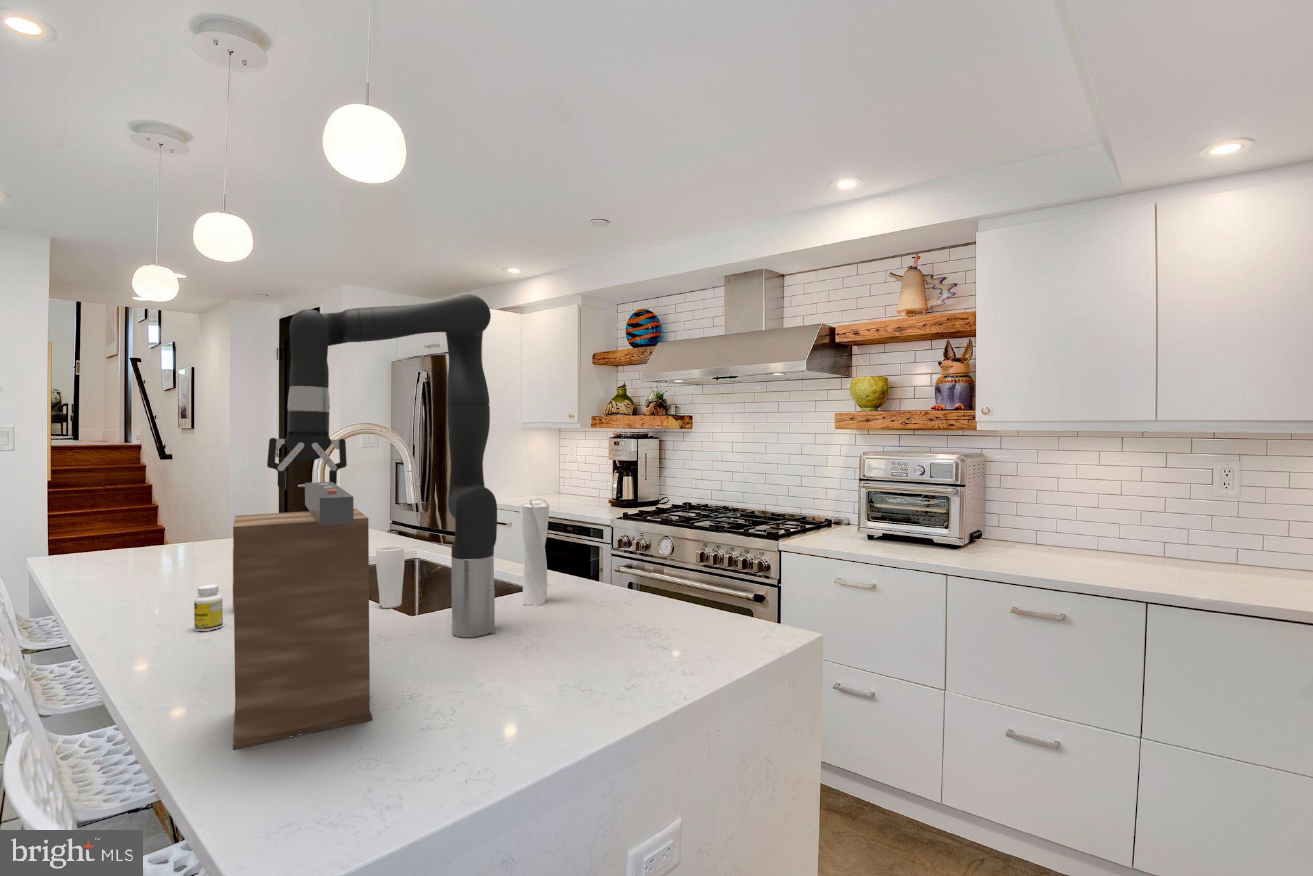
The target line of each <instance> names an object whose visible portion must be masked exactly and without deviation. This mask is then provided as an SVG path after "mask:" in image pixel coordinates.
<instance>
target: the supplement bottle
mask: <svg viewBox="0 0 1313 876" xmlns="http://www.w3.org/2000/svg"><path fill="white" fill-rule="evenodd" d="M219 588H220V587H219V584H213V583H212V584H204V585H203V584H202V585H200V586H198V587H197V595H198V596H196V597H195V598H194V601H193V607H194V611H193V613H194V614H193V615H194V630H195V631H196V632H198V631H208V632H211V631H210V630H213V629H217V630H219V629H218V628H220V627H221V628H223V625H224V617H223V615H224V614H223V613H224V612H223V610H224V608H223V604H224V603H223V595H222V594H221V593H219V590H220V589H219ZM221 628H220V629H221Z"/></svg>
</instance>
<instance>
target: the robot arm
mask: <svg viewBox="0 0 1313 876" xmlns="http://www.w3.org/2000/svg"><path fill="white" fill-rule="evenodd" d="M491 314H492V313H491V310H490V307H489V305H488V304H487V302H486V301H485V300H483V299H482V298H481V297H479V296H476V295H475V294H474V295H473V294H462V295H459V296H455V297H452V298H447V299H444V300H443V299H442V300H437V301H432V302H426V303H419V304H418V303H417V304H407V305H405V304H404V305H389V306H388V305H386V306H370V307H369V306H367V307H355V308H347V309H344V310H343V311H339V312H338V311H337V312H327V313H325V312H324V313H321V312H320V311H318V310H315V309H310V308H307V309H306V308H305V309H301V310H299V311H297V312H296V313H294V315H293V316H292V318H291V320H290V322H289V341H290V357H291V360H290V368H289V389H288V390H289V391H288V397H287V434H286V437H285V438H276V437H270V438H269V440H268V451H267V460H266V461H267V462H266V466H267V468H268V469H273V470H275V471H277V487H278V488H281V491H286V490H287V471H286V468H287V467H288V465H290V464H291V463H292V461H293V460H294V459H297V460H299V461H300V460H307V459H309V460H316V461H317V460H319V459H322V461H323V462H324V463H325V464H326V465H327V467H328V468H329V469H330V470H328V473H329V475H328V480H329V481H328V482H333V483H334V484H336V485H337V484H338V482H337V481H338V478H337V477H338V476H337V475H338V471H339V470H341V469H344V468H346V467H347V465H348V464H347V463H348V461H347V448H346V447H347V446H346V445H347V443H346V439H344V438H339V439H331V438H330V410H331V409H330V408H331V406H330V392H329V383H330V381H329V378H330V376H329V375H330V374H329V372H330V371H329V370H330V369H329V364H328V353H329V351H328V350H329V347H331V346H336V345H340V344H347V343H366V342H378V341H385V340H393V339H398V338H404V337H409V336H414V335H415V336H416V335H421V334H427V333H428V334H430V333H431V334H432V333H445V336H446V344H447V345H446V346H447V353H448V374H447V391H446V397H447V399H446V402H447V403H446V404H447V405H446V409H447V410H446V411H447V429H448V445H449V457H450V471H449V473H450V474H449V487H448V499H447V507H448V510H449V512H450V515H451V517H453V518H454V520H455V521H454V523H455V524H454V529H455V530H454V541H453V543H452V544H451V634H452V633H453V634H452V635H453V636H455V635H456V636H455V637H459V636H460V638H476V636H478V637H480V636H479V635H483V636H486V635H485V634H487V635H489V634H488V633H491V634H496V633H495V632H496V631H495V630H496V628H495V627H496V626H495V625H496V624H495V623H496V620H495V615H496V612H495V611H496V610H495V609H496V608H495V607H496V606H495V605H496V604H495V603H496V601H495V600H496V599H495V598H496V597H495V596H496V595H495V571H494V570H495V565H494V563H495V560H494V559H495V556H494V555H495V545H496V542H497V536H498V535H497V534H498V533H497V532H498V529H497V528H498V503H497V499H496V497H495V495H494V493H493V492H492V491H491V490H490V489H489V488H487V487H485V480H484V477H485V476H484V467H483V466H484V457H485V456H484V454H485V452H486V451H485V450H486V447H487V443H488V439H489V434H490V433H489V432H490V427H491V425H490V423H491V409H490V395H489V394H490V393H489V389H488V383H487V379H486V376H485V372H484V367H483V360H482V351H483V349H482V347H483V345H482V344H483V333H484V331H486V330H487V328H488V326H489V325H490V322H491V317H492V316H491ZM283 444H284V445H285V447H286V448H287V449H288V450H289V451H290V452H289V454H287V455H286V456H285V458H284V459H283V460H282V462H280V463H278V462H276V455H277V454H276V453H277V450H279V449H280V448H281V447H282V445H283ZM331 445H333V446H334V448H335V449H336V450H337V451H339V462H337V463H335V462H334V461H333V460H332V458H330V456H329V454H327V450H328V449H330V447H331Z"/></svg>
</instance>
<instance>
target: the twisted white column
mask: <svg viewBox="0 0 1313 876" xmlns="http://www.w3.org/2000/svg"><path fill="white" fill-rule="evenodd" d="M533 500H540V501H533ZM541 501H543V502H544V503H545V504H546V505H544V504H541ZM549 509H550V505H549V503H548V502H547V500H546V499H544V498H542V497H537V496H536V497H535V496H534V497H531V498H530V499H529V501H524V502H521V503H520V525H521V536H522V545H523V550H524V552H523V553H524V554H523V567H522V606H525V605H524V604H527V605H526V606H542V605H543V606H544V604H545V602H546V601H547V600H548V565H547V564H548V563H547V556H546V555H547V554H546V547H545V546H546V543H547V542H546V541H547V536H548V526H549V511H550V510H549ZM543 603H544V604H543ZM528 604H529V605H528ZM530 604H531V605H530ZM532 604H533V605H532ZM534 604H536V605H534ZM537 604H538V605H537Z"/></svg>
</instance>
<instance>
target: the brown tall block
mask: <svg viewBox="0 0 1313 876" xmlns="http://www.w3.org/2000/svg"><path fill="white" fill-rule="evenodd" d="M369 535H370V534H369V517H368V516H366V515H365V514H364V513H362V512H361V511H360V510H359V509H357V508H354V523H352V524H338V525H323V526H320V525H319V524H318V522H317V521H316V519H315V518H314V517H313V515H312V514H311V512H310V511H309V510H308V511H290V512H276V513H274V512H273V513H259V514H258V513H257V514H243V515H234V520H233V526H232V536H233V537H232V538H233V539H232V540H233V541H232V542H233V543H232V544H233V545H232V546H233V547H232V559H233V558H234V613H233V620H234V621H233V622H234V624H233V627H234V629H233V631H234V633H233V635H234V637H233V638H234V720H233V722H234V723H233V735H232V736H233V738H232V750H236V748H238V749H242V747H243V748H246V746H248V747H251V746H255V744H257V745H262V744H265V742H266V743H270V741H271V742H274V741H273V740H276V741H280V740H279V739H281V740H283V739H282V738H285V739H288V738H287V737H290V736H295V737H298V736H297V735H299V734H304V735H307V734H306V733H309V734H312V733H311V732H314V733H317V732H316V731H318V732H322V730H323V731H326V730H325V729H328V730H331V729H332V728H333V729H336V728H335V727H337V728H342V727H346V726H345V725H347V726H351V725H356V724H361V723H367V722H369V721H373V714H372V711H371V708H370V707H371V706H370V704H371V702H370V700H371V697H370V695H371V694H370V693H371V691H370V689H371V688H370V687H371V686H370V675H371V674H370V565H369V563H370V562H369V561H370V559H369V558H370V556H369V555H370V554H369V551H370V550H369V548H370V547H369V541H370V540H369V537H370V536H369ZM290 738H291V737H290ZM261 743H262V744H261Z"/></svg>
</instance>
